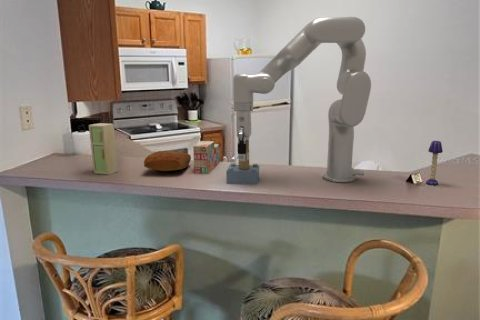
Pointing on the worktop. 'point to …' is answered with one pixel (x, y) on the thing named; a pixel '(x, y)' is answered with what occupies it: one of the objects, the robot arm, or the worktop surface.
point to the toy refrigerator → (103, 148)
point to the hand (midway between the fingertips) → (243, 151)
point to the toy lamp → (434, 161)
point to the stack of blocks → (206, 157)
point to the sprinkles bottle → (244, 157)
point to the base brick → (242, 174)
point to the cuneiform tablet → (167, 161)
